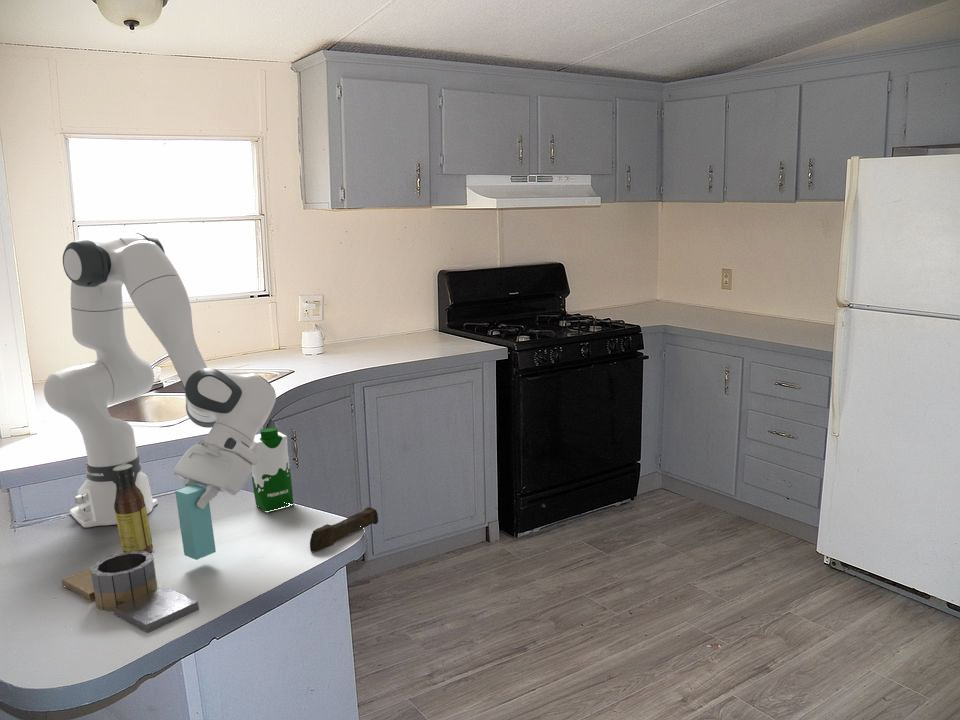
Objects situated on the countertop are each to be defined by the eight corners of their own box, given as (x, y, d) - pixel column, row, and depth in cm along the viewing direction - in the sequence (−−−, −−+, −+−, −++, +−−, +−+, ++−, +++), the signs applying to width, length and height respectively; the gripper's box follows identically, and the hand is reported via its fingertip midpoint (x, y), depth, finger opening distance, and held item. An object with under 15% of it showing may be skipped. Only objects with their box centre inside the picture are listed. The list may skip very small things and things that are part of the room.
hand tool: (367, 521, 187) (365, 502, 186) (379, 524, 185) (377, 505, 184) (302, 551, 173) (300, 531, 172) (315, 555, 170) (312, 534, 169)
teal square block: (184, 555, 167) (175, 490, 165) (203, 547, 171) (195, 483, 168) (196, 560, 165) (187, 494, 162) (215, 551, 168) (207, 487, 165)
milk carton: (264, 515, 195) (254, 435, 191) (251, 506, 202) (241, 428, 198) (298, 506, 200) (289, 427, 196) (284, 497, 207) (275, 421, 203)
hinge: (60, 586, 163) (54, 554, 161) (113, 566, 171) (108, 535, 170) (145, 633, 141) (139, 596, 140) (200, 608, 149) (195, 572, 148)
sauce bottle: (141, 545, 182) (128, 460, 178) (159, 549, 178) (146, 463, 175) (115, 556, 176) (101, 469, 172) (133, 561, 173) (120, 472, 169)
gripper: (188, 431, 175) (152, 488, 170) (244, 444, 162) (206, 506, 157) (209, 446, 179) (174, 502, 174) (265, 459, 166) (229, 520, 161)
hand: (190, 504), depth 165 cm, fingers closed on teal square block, 4 cm apart
